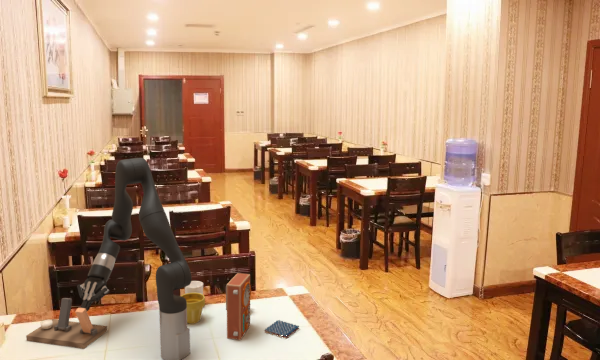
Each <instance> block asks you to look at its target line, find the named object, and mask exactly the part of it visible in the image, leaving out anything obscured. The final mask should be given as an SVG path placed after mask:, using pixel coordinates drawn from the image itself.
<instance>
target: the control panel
mask: <svg viewBox="0 0 600 360" xmlns="http://www.w3.org/2000/svg"><path fill="white" fill-rule="evenodd" d="M251 286H252V285H251V274H250V273H241V272H237V273H236V274H235V275H234V276H233V277H232V278H231V279H230V281H229V282H228V283H226V286H225V310H226V338H227V339H228V340H239V341H241V339H242V338H243V337H244V335H245V334H246V332H247V330H248V329H249V327H251V296H252V287H251Z"/></svg>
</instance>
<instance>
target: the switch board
mask: <svg viewBox="0 0 600 360" xmlns="http://www.w3.org/2000/svg"><path fill="white" fill-rule="evenodd" d="M51 320H52V322H53V327H51V328H49V329H41V326H39V327H37V329H34V330H33V331H31V332H30V333H28V334H27V335H25V338H26V342H33V343H42V344H49V345H53V346H54V345H55V346H61V347H69V348H76V349H83V350H84V349H86V348H87V347H88V346H90V345H91V344H93V343H94V342H95V341H96V340H97V339H99V338H101V336H103V335H104V334H106V333H107V332H108V325H102V324H94V323H92V326H93V328H94V330H92V331H91V334H89V333H84V332H83V330H82V327H81V325H80V322H79V321H71V320H69V325H68V326H67V327H66V328H65V330H60V329H58V321H59V319H55V318H53V319H51Z"/></svg>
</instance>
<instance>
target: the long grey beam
mask: <svg viewBox="0 0 600 360" xmlns="http://www.w3.org/2000/svg"><path fill="white" fill-rule="evenodd" d="M72 304H73V299H72V298H70V297H69V298H68V297H63V298H61V301H60V309H59V314H58V315H59V316H58V320H59V321H58V329H60V330H65V328H66V327H67V326H68V325H69V321H70V318H71V317H70V316H71V311H72V310H71V309H72Z"/></svg>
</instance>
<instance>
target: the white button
mask: <svg viewBox="0 0 600 360" xmlns="http://www.w3.org/2000/svg"><path fill="white" fill-rule="evenodd" d="M40 327H41V329H49V328H51V327H53V322H52V319H45V320H42V321H41V322H40Z"/></svg>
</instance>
